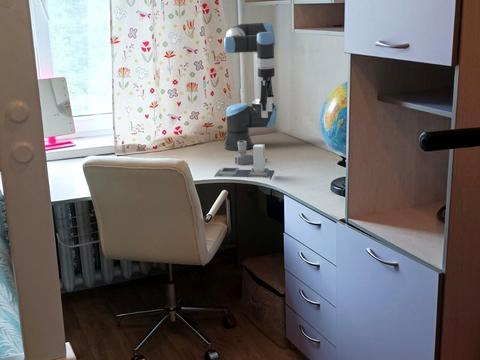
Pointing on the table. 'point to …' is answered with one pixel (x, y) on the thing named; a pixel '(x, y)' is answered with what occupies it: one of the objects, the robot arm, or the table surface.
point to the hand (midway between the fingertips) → (267, 114)
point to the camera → (243, 154)
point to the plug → (259, 158)
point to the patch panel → (243, 173)
